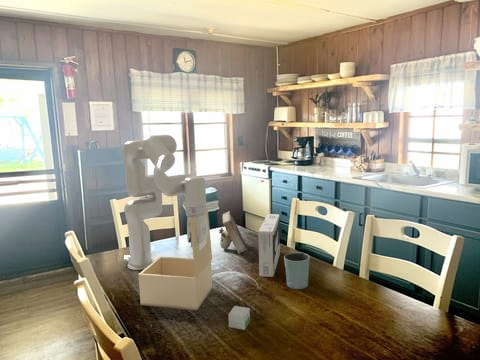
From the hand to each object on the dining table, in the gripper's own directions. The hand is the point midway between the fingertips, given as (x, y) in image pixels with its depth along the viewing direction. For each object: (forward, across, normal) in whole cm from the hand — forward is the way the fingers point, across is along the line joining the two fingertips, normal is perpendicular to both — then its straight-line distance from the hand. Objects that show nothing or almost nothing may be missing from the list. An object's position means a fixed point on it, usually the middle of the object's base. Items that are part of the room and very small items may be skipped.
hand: (198, 258), depth 137 cm
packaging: (+16, +39, -21) cm, 47 cm away
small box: (+16, -15, -19) cm, 29 cm away
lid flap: (-7, 0, -1) cm, 7 cm away
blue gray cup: (+16, +18, -35) cm, 43 cm away
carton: (+16, 0, +9) cm, 18 cm away
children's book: (+16, +55, +1) cm, 57 cm away
